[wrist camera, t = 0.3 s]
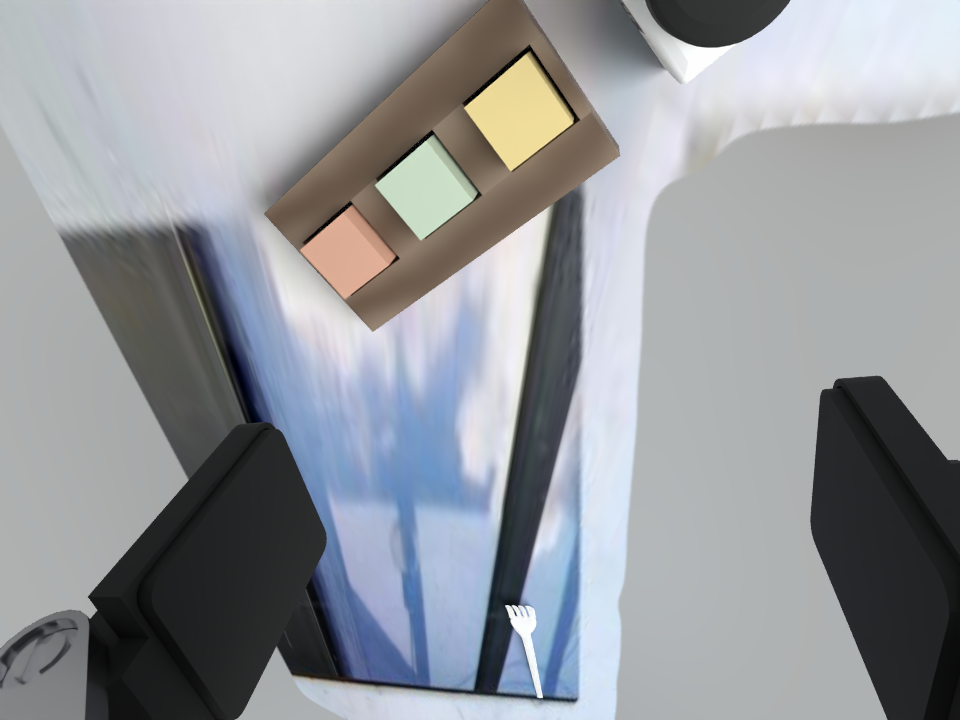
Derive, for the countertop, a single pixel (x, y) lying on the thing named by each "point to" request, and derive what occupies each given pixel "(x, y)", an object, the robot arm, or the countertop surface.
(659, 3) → the container
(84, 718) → the robot arm
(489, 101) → the ochre key
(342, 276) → the terracotta key
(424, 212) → the sage key
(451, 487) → the countertop surface
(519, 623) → the fork
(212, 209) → the countertop surface
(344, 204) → the key panel
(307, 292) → the countertop surface
